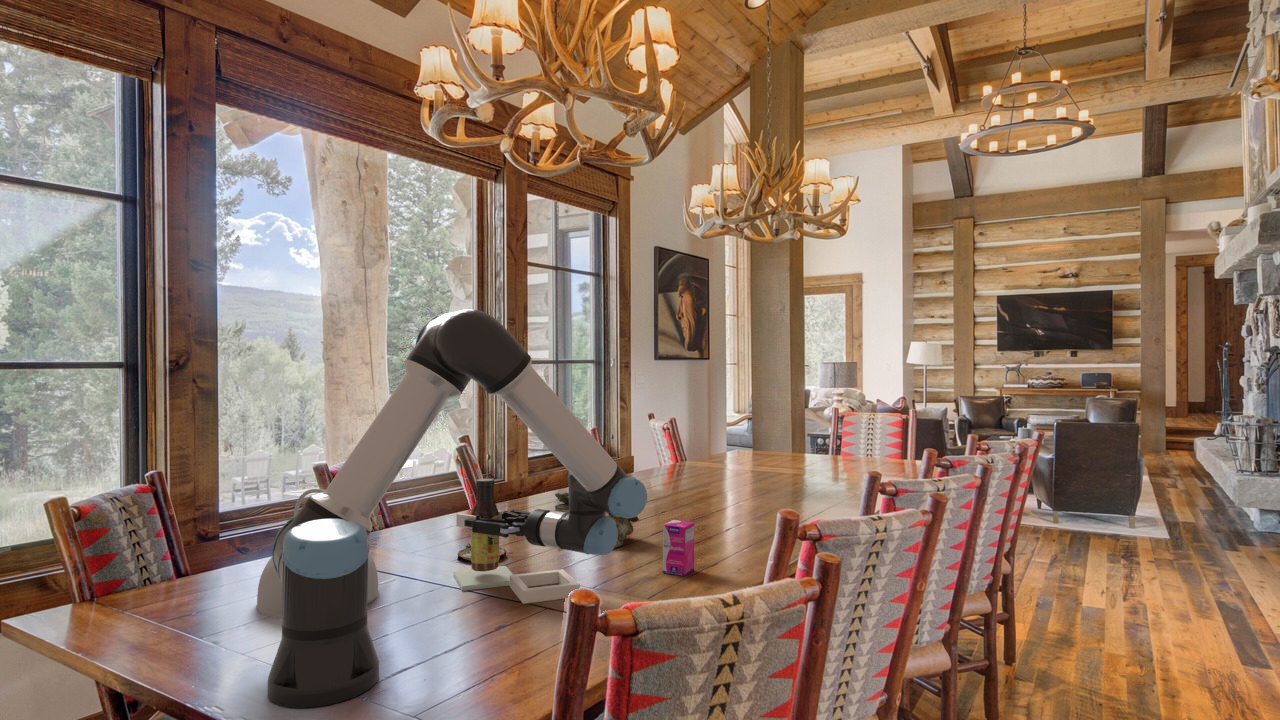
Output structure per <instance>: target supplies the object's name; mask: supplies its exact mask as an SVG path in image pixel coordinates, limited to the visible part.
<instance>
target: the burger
mask: <svg viewBox="0 0 1280 720" xmlns="http://www.w3.org/2000/svg"><path fill="white" fill-rule="evenodd" d="M467 544H468V545H465V546H464V547H465V548H463V549H462V550H460V551H458V552H457V558H456V559H457V560H459V559H460V558H461V559H464V560H467V561H471V543H470V542H468V543H467ZM500 557H502V560H503V561H504V560H506V558H507V550H506V549H505V548H503V547H500V546H499V558H500Z"/></svg>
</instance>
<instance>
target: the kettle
mask: <svg viewBox="0 0 1280 720" xmlns="http://www.w3.org/2000/svg"><path fill="white" fill-rule="evenodd" d="M325 490H326V489H322V488H311V489H307V490H305V491H304V492H302V494H301V495H300V496H299V497H298V499H297V501H296V502H295V507H294V510H293V517H294V516H296V515H297V514H298V513H299V511H300V506H301V503H302V501H303V499H304V498H306V497H307V496H308V495H310V494H317V493H321V492H323V491H325ZM272 557H273V556H271V557H270V559H268V561H267V563H266V565H265V566H264V568H263V570H262V573H261V574H260V577H259V582H258V588H257V595H256V596H257V597H256V610H257V612H258V613H259V614H261V615H263V616H267V617H271V618H277V619H282V583H281V580H280V577H279V575H278V573H277V572H276V570H275V567H274V563H273V559H272ZM378 596H379V577H378V569H377V565H376V563H375V560H374V557H373V555H372V554H371V552H370V551H369V555H368V598H367V605H368V604H370V603H372V602H373V601H374V600H375V599H376V598H377V597H378Z"/></svg>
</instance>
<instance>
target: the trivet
mask: <svg viewBox="0 0 1280 720" xmlns="http://www.w3.org/2000/svg"><path fill="white" fill-rule="evenodd" d="M452 573H453V575H452V576H453V578H454V579H455V582H456V583H457V584H458V586H459V589H460V590H461V592H465V591H474V590H482V589H483V590H484V589H490V588H491V589H492V588H498V587H499V588H500V587H507V586H510V575H514V574H513V573H512V571H511V570H510V569H509V568H508V567H507V566H506V565H502V566H501V565H498V567H497V569H494V570H490V571H484V572H483V571H474V570H473V569H472V568H471V569H463V570H455V571H453V572H452Z"/></svg>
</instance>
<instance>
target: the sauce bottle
mask: <svg viewBox="0 0 1280 720" xmlns="http://www.w3.org/2000/svg"><path fill="white" fill-rule="evenodd" d="M475 484H476V485H475V486H476V501H475V503H474V505H473V506H472V509H471V515H473V516H476V515H480V517H481V518H488V519H499V512H498V511H499V510H498V507H497V503H496V501H495V495H494V494H495V492H494V491H495V489H494V488H495V479H493V478H478V479H476V482H475ZM470 546H471V560H470V562H471V569H473V570H474V571H483V572H484V571H490V570H494V569H497V567H499V561H500V557H499V547H500V536H497V535H489V534H482V533H474V532H472V528H470Z"/></svg>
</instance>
